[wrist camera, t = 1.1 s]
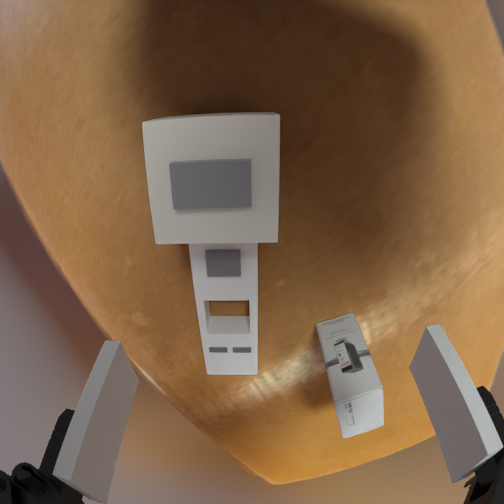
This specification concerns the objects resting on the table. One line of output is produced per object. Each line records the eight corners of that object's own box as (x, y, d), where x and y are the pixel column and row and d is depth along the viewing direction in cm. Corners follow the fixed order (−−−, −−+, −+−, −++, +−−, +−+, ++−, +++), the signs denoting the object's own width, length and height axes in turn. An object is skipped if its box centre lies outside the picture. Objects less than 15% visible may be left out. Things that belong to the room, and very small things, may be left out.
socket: (193, 223, 29) (186, 239, 26) (256, 221, 29) (257, 238, 26) (209, 356, 37) (206, 378, 34) (257, 356, 37) (257, 378, 34)
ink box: (361, 356, 38) (385, 428, 28) (326, 366, 39) (343, 440, 28) (354, 309, 34) (385, 388, 24) (314, 322, 35) (333, 405, 24)
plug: (170, 115, 24) (138, 123, 17) (271, 111, 24) (281, 115, 17) (177, 207, 28) (153, 248, 21) (270, 205, 28) (278, 246, 21)
